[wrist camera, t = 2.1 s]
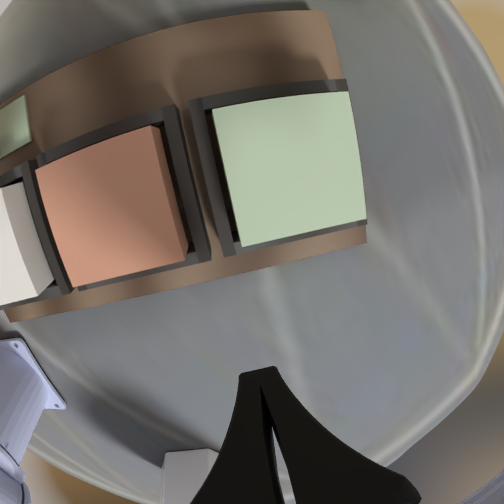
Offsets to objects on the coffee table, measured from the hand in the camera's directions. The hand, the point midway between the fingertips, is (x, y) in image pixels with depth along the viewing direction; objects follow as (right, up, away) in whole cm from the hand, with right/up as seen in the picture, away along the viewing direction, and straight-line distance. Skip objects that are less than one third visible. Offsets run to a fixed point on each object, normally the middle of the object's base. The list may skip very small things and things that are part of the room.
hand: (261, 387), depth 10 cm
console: (-7, +10, +5) cm, 13 cm away
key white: (-14, +6, +2) cm, 16 cm away
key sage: (+1, +9, +3) cm, 10 cm away
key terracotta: (-7, +7, +2) cm, 10 cm away
